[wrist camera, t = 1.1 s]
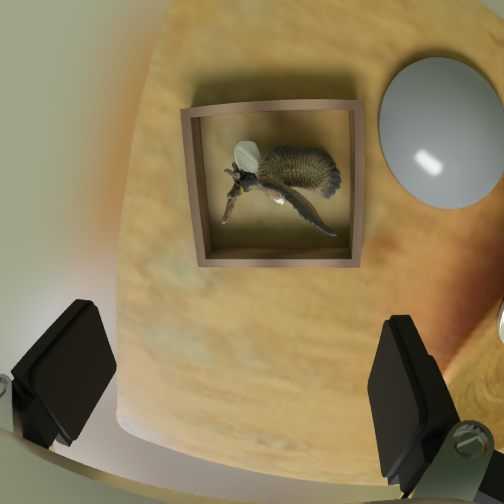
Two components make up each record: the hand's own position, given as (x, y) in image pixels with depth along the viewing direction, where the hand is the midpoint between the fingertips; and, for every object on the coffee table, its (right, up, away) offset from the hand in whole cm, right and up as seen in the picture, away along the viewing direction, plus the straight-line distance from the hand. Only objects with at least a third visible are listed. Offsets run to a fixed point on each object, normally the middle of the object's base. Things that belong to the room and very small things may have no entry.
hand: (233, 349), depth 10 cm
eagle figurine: (+4, +9, +18) cm, 21 cm away
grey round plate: (+18, +14, +14) cm, 27 cm away
